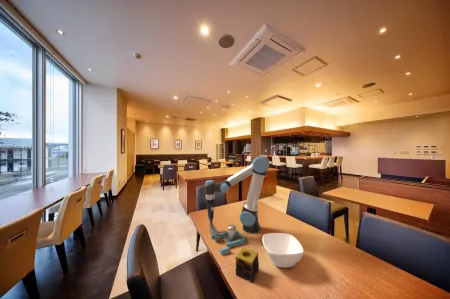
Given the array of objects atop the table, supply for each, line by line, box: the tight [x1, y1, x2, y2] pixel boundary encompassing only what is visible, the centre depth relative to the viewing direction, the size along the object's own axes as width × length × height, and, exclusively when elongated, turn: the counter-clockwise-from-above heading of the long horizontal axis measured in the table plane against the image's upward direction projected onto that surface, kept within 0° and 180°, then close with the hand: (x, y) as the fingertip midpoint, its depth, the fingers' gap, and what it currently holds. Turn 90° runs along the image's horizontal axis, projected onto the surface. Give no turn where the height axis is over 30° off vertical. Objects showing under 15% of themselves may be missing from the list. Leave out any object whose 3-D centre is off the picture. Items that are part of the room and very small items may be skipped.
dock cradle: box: [210, 229, 247, 256], centre depth 115 cm, size 21×23×3 cm
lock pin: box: [208, 223, 221, 243], centre depth 122 cm, size 3×17×7 cm, turn 23°
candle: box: [234, 247, 260, 283], centre depth 85 cm, size 10×10×10 cm
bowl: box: [261, 232, 305, 268], centre depth 93 cm, size 22×22×12 cm
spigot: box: [227, 224, 237, 242], centre depth 117 cm, size 6×6×10 cm
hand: (210, 226), depth 131 cm, fingers closed
